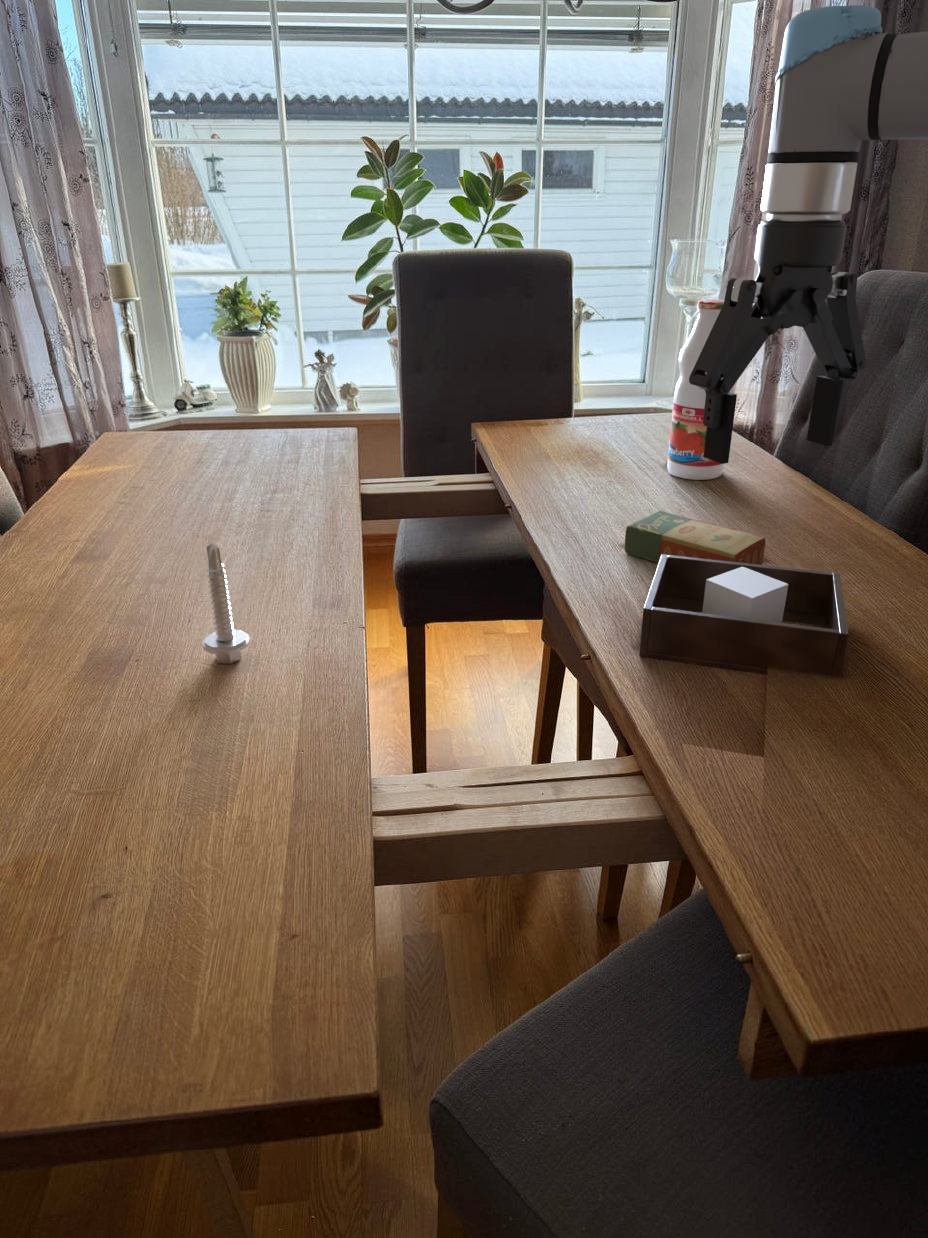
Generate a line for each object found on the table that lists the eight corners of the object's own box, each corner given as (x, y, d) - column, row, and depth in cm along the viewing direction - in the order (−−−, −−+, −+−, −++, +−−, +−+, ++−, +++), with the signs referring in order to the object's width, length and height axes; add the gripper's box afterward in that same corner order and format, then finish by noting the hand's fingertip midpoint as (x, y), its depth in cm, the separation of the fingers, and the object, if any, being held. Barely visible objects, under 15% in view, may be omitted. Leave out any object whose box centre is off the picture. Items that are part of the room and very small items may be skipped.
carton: (730, 586, 109) (735, 554, 107) (622, 553, 119) (624, 523, 117) (762, 566, 114) (767, 535, 112) (656, 536, 124) (658, 507, 122)
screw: (242, 670, 91) (197, 668, 91) (258, 648, 95) (215, 646, 96) (226, 553, 85) (178, 551, 86) (244, 535, 89) (198, 533, 90)
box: (831, 618, 101) (840, 573, 98) (838, 684, 87) (848, 634, 85) (657, 597, 106) (661, 553, 104) (639, 656, 93) (643, 608, 90)
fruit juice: (733, 473, 151) (756, 300, 139) (702, 484, 146) (723, 305, 133) (687, 462, 158) (705, 295, 145) (655, 472, 152) (671, 300, 140)
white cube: (744, 650, 93) (751, 598, 90) (700, 629, 97) (705, 579, 95) (780, 634, 96) (788, 583, 93) (735, 615, 100) (742, 566, 98)
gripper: (868, 213, 87) (830, 428, 96) (664, 219, 77) (644, 458, 86) (935, 215, 81) (888, 444, 90) (723, 222, 71) (694, 478, 80)
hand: (768, 451), depth 88 cm, fingers open, 13 cm apart
